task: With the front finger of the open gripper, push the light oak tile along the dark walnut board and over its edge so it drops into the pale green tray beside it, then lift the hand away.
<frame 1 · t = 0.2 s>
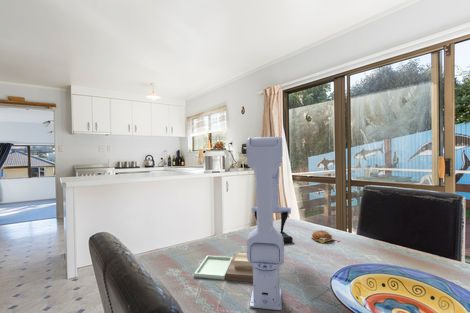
hand: (271, 231, 91), 10 cm above the table, tool pointing down, fingers open, 7 cm apart
green tray: (214, 268, 83), on the table
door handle: (267, 240, 111), on the table
hamburger: (326, 241, 109), on the table
oak tile: (244, 264, 81), point 2 cm above the table, touching walnut board
walnut board: (243, 270, 81), on the table
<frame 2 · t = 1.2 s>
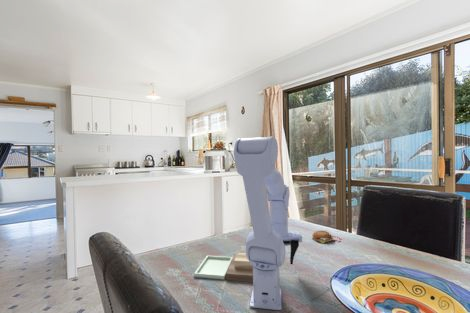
hand: (279, 262, 79), 4 cm above the table, tool pointing down, fingers open, 7 cm apart
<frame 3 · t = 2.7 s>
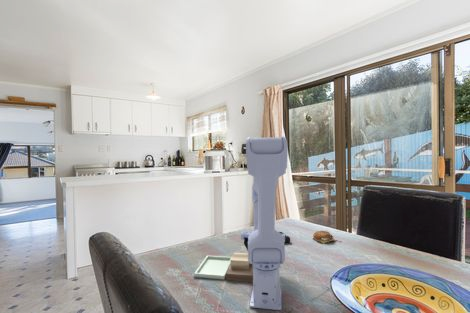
hand: (263, 261, 80), 3 cm above the table, tool pointing down, fingers open, 7 cm apart
oak tile: (241, 264, 81), point 2 cm above the table, touching gripper
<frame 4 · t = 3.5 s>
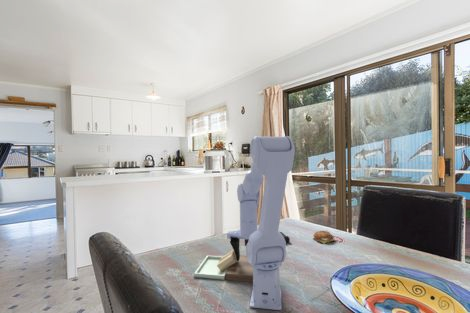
hand: (249, 260, 81), 3 cm above the table, tool pointing down, fingers open, 7 cm apart
oak tile: (230, 263, 82), point 2 cm above the table, tilted 35°, touching gripper
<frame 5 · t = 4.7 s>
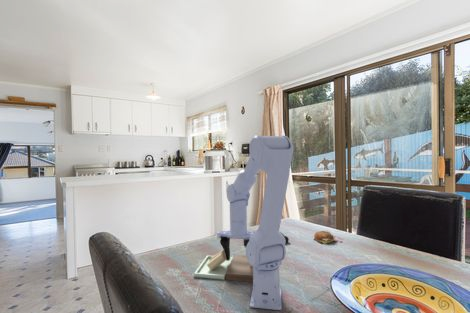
hand: (239, 259, 81), 3 cm above the table, tool pointing down, fingers open, 7 cm apart
oak tile: (220, 262, 83), point 2 cm above the table, tilted 38°, touching green tray, gripper
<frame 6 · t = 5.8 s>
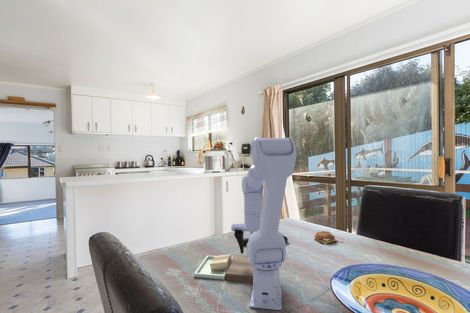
hand: (253, 253, 80), 6 cm above the table, tool pointing down, fingers open, 7 cm apart
oak tile: (222, 266, 83), point 1 cm above the table, tilted 11°, touching green tray
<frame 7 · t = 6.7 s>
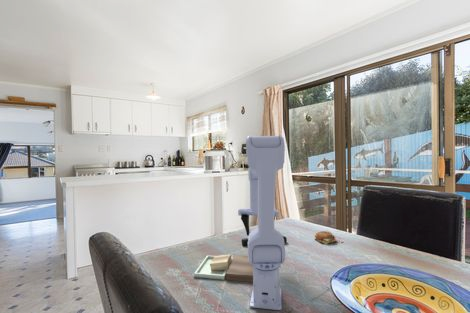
hand: (258, 235, 88), 9 cm above the table, tool pointing down, fingers open, 7 cm apart
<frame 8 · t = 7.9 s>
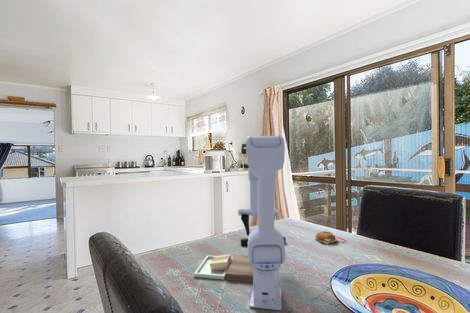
hand: (258, 235, 88), 9 cm above the table, tool pointing down, fingers open, 7 cm apart
at the end: oak tile inside the target area (2.5 cm from its centre), point 0.8 cm above the table; oak tile touching green tray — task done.
